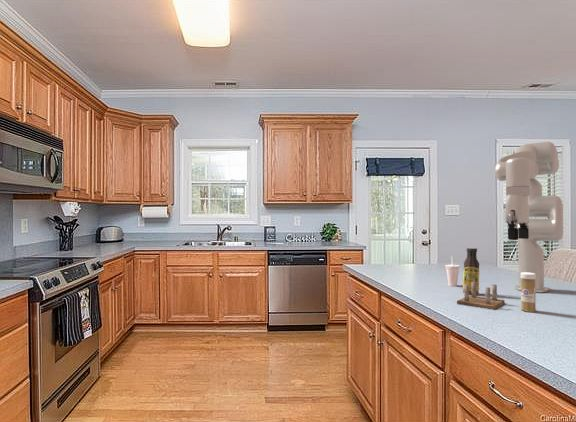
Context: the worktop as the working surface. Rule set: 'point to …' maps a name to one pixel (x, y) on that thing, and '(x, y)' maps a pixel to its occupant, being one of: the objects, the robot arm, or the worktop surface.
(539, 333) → the worktop surface
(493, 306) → the pin tray
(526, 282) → the sprinkles bottle
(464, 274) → the sauce bottle
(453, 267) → the smoothie
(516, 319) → the worktop surface
